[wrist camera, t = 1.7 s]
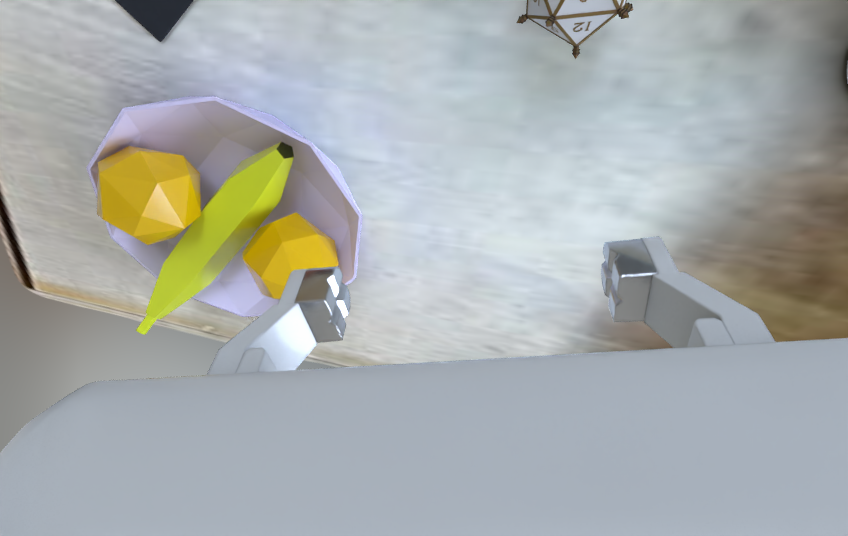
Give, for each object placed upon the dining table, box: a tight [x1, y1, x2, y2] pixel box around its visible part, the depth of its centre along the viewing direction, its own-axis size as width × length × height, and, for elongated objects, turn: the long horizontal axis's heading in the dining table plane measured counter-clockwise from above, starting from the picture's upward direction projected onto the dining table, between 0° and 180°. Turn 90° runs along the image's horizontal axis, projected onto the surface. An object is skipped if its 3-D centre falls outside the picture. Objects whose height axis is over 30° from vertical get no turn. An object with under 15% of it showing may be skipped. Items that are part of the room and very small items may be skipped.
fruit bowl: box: [86, 96, 362, 334], centre depth 49 cm, size 28×27×11 cm
